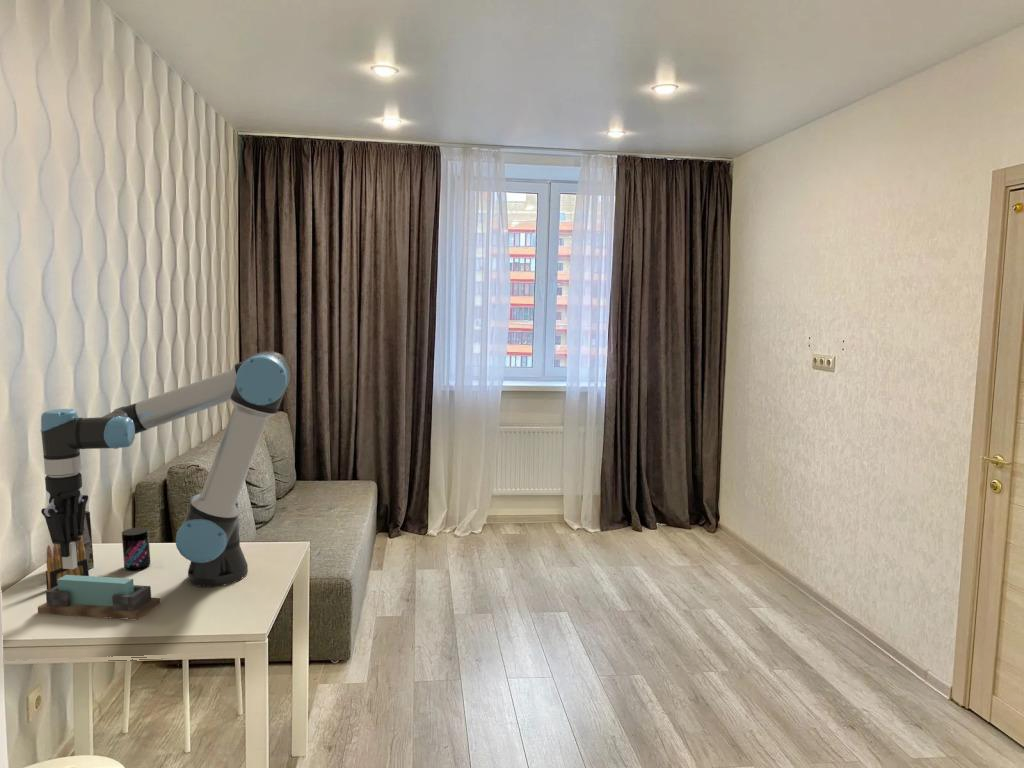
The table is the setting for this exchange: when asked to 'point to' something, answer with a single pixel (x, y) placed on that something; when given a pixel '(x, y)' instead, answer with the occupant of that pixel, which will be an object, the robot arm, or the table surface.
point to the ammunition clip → (56, 565)
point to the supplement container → (136, 548)
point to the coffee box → (86, 540)
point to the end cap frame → (122, 606)
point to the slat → (94, 589)
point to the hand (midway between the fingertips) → (70, 567)
